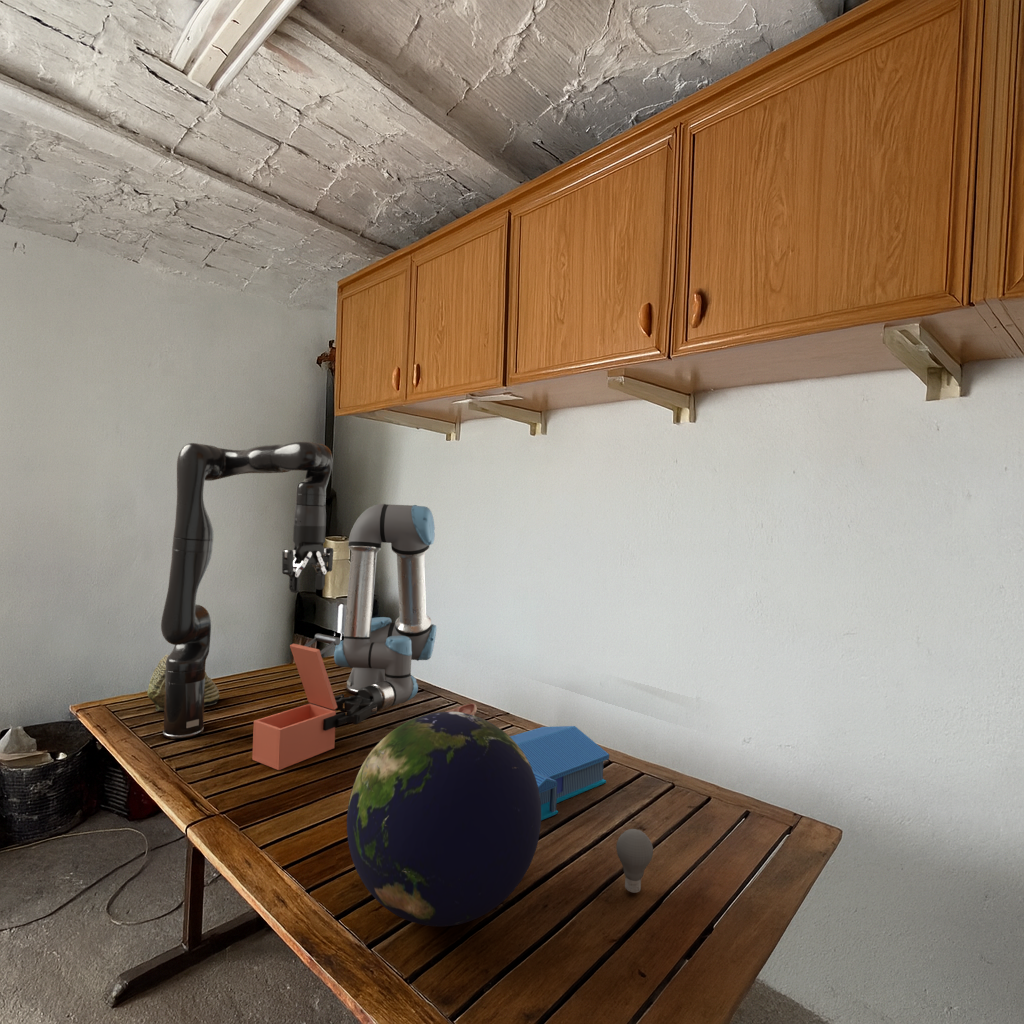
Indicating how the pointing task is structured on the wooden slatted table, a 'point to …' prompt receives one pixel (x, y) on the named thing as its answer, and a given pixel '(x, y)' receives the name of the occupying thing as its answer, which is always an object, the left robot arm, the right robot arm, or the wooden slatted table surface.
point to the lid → (315, 671)
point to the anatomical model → (465, 709)
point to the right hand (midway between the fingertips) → (310, 720)
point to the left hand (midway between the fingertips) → (307, 590)
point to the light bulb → (634, 857)
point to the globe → (444, 819)
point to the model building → (561, 763)
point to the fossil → (158, 687)
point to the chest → (292, 736)
